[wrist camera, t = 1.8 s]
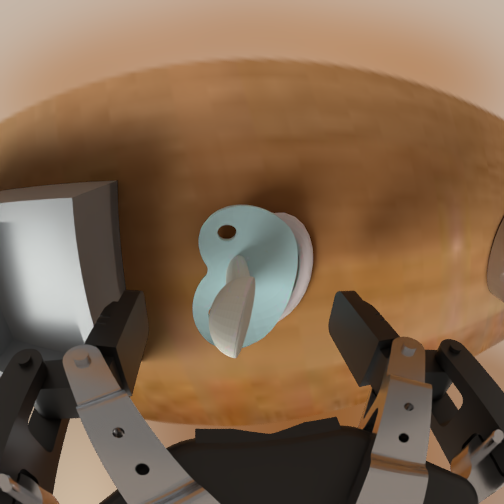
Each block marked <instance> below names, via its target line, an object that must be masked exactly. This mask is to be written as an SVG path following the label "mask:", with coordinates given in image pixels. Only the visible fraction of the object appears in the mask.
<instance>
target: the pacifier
mask: <svg viewBox="0 0 504 504" xmlns="http://www.w3.org/2000/svg"><path fill="white" fill-rule="evenodd" d="M224 225H231V226H233V227H234V228H235V229H236V234H235V235H234V236H233V237H232V238H229V239H224V238H222V237H220V236H219V235H218V229H219V228H220V227H221V226H224ZM199 250H200V254H201V256H202V258H203V261H204V262H205V264H206V265H207V267H208V272H207V274H206V275H205V277H204V278H203V279H202V280H201V282H200V284H199V286H198V287H197V290H196V292H195V295H194V300H193V317H194V321H195V324H196V326H197V328H198V330H199V332H200V333H201V335H202V336H203V337H204V338H205V339H206V340H207V341H208V342H209V343H211V344H213V345H215V346H216V347H217V348H218V349H219V350H220V351H221V352H222V353H224V354H225V355H227V356H229V357H232V358H236V357H237V356H238V355H239V353H240V351H241V348H243V347H246V346H249V345H251V344H253V343H255V342H257V341H259V340H260V339H262V338H264V337H265V336H266V335H267V334H268V333H269V332H270V331H271V330H272V328H273V327H274V326H275V325H276V323H277V322H278V321H280V320H281V319H283V318H284V317H285V316H287V315H288V314H290V313H291V312H292V310H293V309H294V308H295V307H296V306H297V305H298V304H299V302H300V300H301V299H302V297H303V295H304V293H305V292H306V289H307V286H308V284H309V281H310V278H311V272H312V267H313V248H312V244H311V240H310V235H309V234H308V232H307V230H306V228H305V226H304V225H303V224H302V223H301V222H300V221H299V220H298V219H297V218H296V217H295V216H292V215H289V214H287V213H272V212H270V211H268V210H266V209H263V208H260V207H257V206H252V205H232V206H227V207H224V208H222V209H219V210H217V211H216V212H214V213H213V214H212V215H210V216H209V218H208V219H207V220H206V221H205V223H204V224H203V226H202V228H201V230H200V234H199ZM210 308H211V309H210ZM209 309H210V314H208V311H209Z"/></svg>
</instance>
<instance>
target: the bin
mask: <svg viewBox="0 0 504 504" xmlns="http://www.w3.org/2000/svg"><path fill="white" fill-rule="evenodd" d="M125 290H126V286H125V279H124V271H123V263H122V254H121V243H120V231H119V216H118V189H117V181H96V182H80V183H66V184H54V185H43V186H34V187H25V188H17V189H10V190H2V191H0V377H1V375H2V374H3V372H4V370H5V368H6V367H7V365H8V363H9V362H10V360H11V358H12V357H13V356H14V355H15V354H16V353H17V352H19V351H21V350H24V349H35V350H37V351H39V352H40V353H41V355H42V357H43V360H44V361H49V360H61V359H63V357H64V355H65V353H66V352H67V351H68V350H69V349H71V348H73V347H75V346H78V345H83V344H84V343H85V341H86V339H87V337H88V335H89V334H90V332H91V330H92V328H93V326H94V325H95V324H96V321H97V319H98V318H99V317H100V314H101V313H102V311H103V309H104V308H105V307H106V306H107V305H109V304H110V303H111V302H113V301H117V302H118V301H119V299H120V297H121V295H122V294H123V292H124V291H125ZM129 398H130V396H129Z"/></svg>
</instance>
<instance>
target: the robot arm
mask: <svg viewBox="0 0 504 504" xmlns="http://www.w3.org/2000/svg"><path fill="white" fill-rule="evenodd" d="M487 283H488V288H489V291H490V292H491V293H492V294H493V295H495V296H496V297H497V298H499V299H500V300H501V301H502V302H504V218H503V221H502V223H501V225H500V227H499V229H498V232H497V234H496V237H495V240H494V243H493V246H492V249H491V254H490V258H489V264H488V270H487ZM329 333H330V335H331V337H332V339H333V341H334V343H335V344H336V346H337V348H338V350H339V351H340V353H341V355H342V357H343V358H344V360H345V362H346V364H347V366H348V367H349V369H350V371H351V373H352V375H353V376H354V378H355V380H356V382H357V384H358V386H359V387H361V386H366V385H371V387H372V388H371V390H370V392H369V395H368V398H367V401H366V405H365V408H364V411H363V414H362V417H361V420H360V423H359V426H358V428H356V427H351V426H340V424H339V422H338V420H337V417H332V418H327V419H322V420H316V421H310V422H304V423H302V424H299V425H296V426H293V427H291V428H288V429H285V430H282V431H279V432H276V433H272V434H265V433H257V432H249V431H243V430H236V429H195V438H194V439H189V440H185V441H182V442H179V443H177V444H174V445H172V446H170V447H168V448H165V447H164V445H163V444H162V443H161V442H160V440H159V439H158V438H157V437H156V435H155V434H154V432H153V431H152V430H151V428H150V427H149V426H148V424H147V423H146V421H145V420H144V419H143V417H142V416H141V414H140V413H139V411H138V410H137V408H136V407H135V405H134V404H133V402H132V401H131V399H130V398H129V396H132V394H133V390H134V386H135V382H136V378H137V374H138V371H139V367H140V363H141V360H142V356H143V352H144V349H145V346H146V342H147V339H148V334H149V324H148V317H147V311H146V304H145V297H144V293H143V291H137V290H125V291H124V292H123V294H122V295H121V297H120V299H119V301H118V302H117V301H113V302H111V303H110V304H109V305H107V306H106V307H105V308H104V309H103V311H102V313H101V314H100V317H99V318H98V319H97V321H96V324H95V325H94V326H93V328H92V330H91V332H90V334H89V335H88V337H87V339H86V341H85V343H84V344H83V345H78V346H75V347H73V348H71V349H69V350H68V351H67V352H66V353H65V355H64V357H63V359H61V360H49V361H44V360H43V357H42V355H41V353H40V352H39V351H37V350H35V349H24V350H21V351H19V352H17V353H16V354H15V355H14V356H13V357H12V358H11V360H10V362H9V363H8V365H7V367H6V368H5V370H4V372H3V374H2V375H1V377H0V504H59V502H58V501H57V499H56V498H55V497H54V496H53V490H54V484H55V477H56V473H57V468H58V463H59V459H60V454H61V450H62V446H63V442H64V438H65V434H66V431H67V427H68V423H69V420H70V418H81V421H82V424H83V425H84V428H85V430H86V432H87V435H88V437H89V439H90V441H91V443H92V445H93V447H94V449H95V451H96V453H97V455H98V456H99V458H100V460H101V462H102V464H103V465H104V467H105V469H106V470H107V472H108V474H109V476H110V478H111V479H112V481H113V482H114V484H115V486H116V487H117V490H116V491H115V492H113V493H112V494H111V495H110V496H108V497H107V498H106V499H104V500H103V501H102V502H101V503H99V504H479V503H480V502H481V501H483V500H484V499H485V498H487V497H488V496H490V495H491V494H493V493H494V492H496V491H497V490H498V489H500V488H501V487H502V486H504V393H503V391H502V390H501V389H500V387H499V386H498V385H497V384H496V382H495V381H494V380H493V379H492V377H491V376H490V375H489V374H488V373H487V372H486V370H485V369H484V368H483V367H482V366H481V365H480V363H479V362H478V361H477V360H476V359H475V358H474V356H473V355H472V354H471V353H470V352H469V351H468V350H467V349H466V348H465V347H464V346H463V345H462V344H461V343H459V342H457V341H455V340H451V339H446V340H443V341H442V342H441V344H440V346H439V348H438V350H425V349H424V347H423V346H422V344H421V343H420V342H418V341H417V340H415V339H412V338H409V337H400V336H399V335H398V334H397V333H396V332H395V330H394V329H393V328H392V327H391V326H390V325H389V323H388V322H387V321H386V320H385V319H384V318H383V317H382V315H380V313H379V312H378V311H377V310H376V309H375V308H374V307H373V306H372V305H370V304H369V303H367V302H365V301H363V300H362V299H361V297H360V296H359V295H358V294H357V293H356V292H355V291H338V292H337V293H336V295H335V298H334V302H333V307H332V311H331V315H330V319H329ZM452 382H453V383H454V385H455V386H456V388H457V389H458V390H459V392H460V393H461V395H462V397H463V404H462V406H461V408H460V409H459V410H458V409H457V407H456V406H455V405H454V403H453V402H452V400H451V399H450V397H449V396H448V394H447V393H446V391H447V389H448V388H449V387H450V385H451V384H452ZM33 406H34V407H35V408H34V411H33V413H32V416H31V418H30V421H29V424H28V419H29V416H30V414H31V411H32V409H33ZM430 428H431V430H432V432H433V433H434V435H435V437H436V439H437V441H438V442H439V444H440V446H441V448H442V450H443V452H444V454H445V456H446V457H447V459H448V461H449V463H450V465H451V466H450V470H451V471H448V470H446V469H443V468H441V467H439V466H436V465H434V464H432V463H430V462H427V461H426V456H427V449H428V442H429V433H430Z"/></svg>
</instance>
